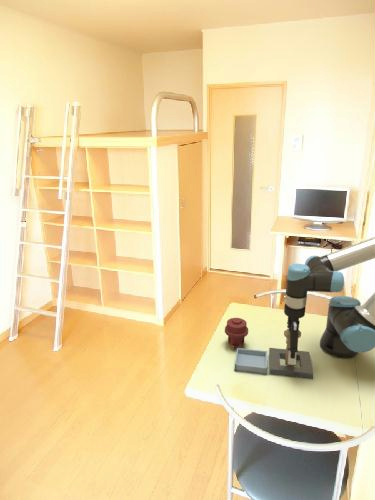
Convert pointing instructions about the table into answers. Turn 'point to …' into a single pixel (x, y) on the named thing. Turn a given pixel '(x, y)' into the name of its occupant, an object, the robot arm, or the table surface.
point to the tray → (251, 361)
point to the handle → (287, 335)
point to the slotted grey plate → (290, 371)
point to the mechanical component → (236, 331)
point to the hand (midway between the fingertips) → (290, 353)
